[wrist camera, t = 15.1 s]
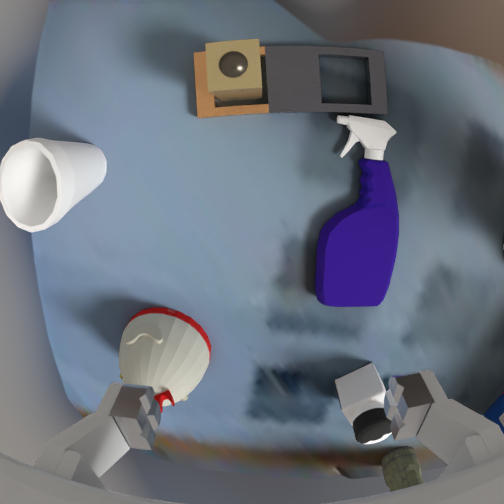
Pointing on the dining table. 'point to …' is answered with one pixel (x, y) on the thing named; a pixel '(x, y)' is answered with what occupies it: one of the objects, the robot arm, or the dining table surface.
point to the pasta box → (497, 412)
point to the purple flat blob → (361, 227)
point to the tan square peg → (234, 69)
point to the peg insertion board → (298, 82)
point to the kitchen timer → (164, 353)
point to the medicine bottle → (364, 404)
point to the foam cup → (47, 180)
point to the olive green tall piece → (401, 469)
